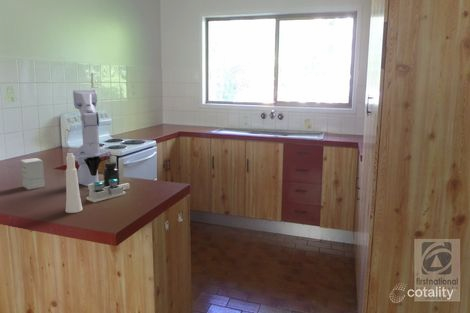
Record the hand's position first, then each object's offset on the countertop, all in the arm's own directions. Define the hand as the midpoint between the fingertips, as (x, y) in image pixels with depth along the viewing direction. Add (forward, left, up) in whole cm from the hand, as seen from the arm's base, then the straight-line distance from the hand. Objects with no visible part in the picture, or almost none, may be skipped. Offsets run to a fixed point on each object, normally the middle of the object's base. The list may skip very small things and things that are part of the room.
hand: (93, 175), depth 154 cm
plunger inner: (+1, +8, -7) cm, 11 cm away
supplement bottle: (-8, +13, -10) cm, 19 cm away
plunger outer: (+1, +1, -7) cm, 7 cm away
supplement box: (-37, -9, -10) cm, 39 cm away
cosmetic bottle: (+7, -13, -10) cm, 18 cm away
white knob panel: (-5, +8, -10) cm, 14 cm away
